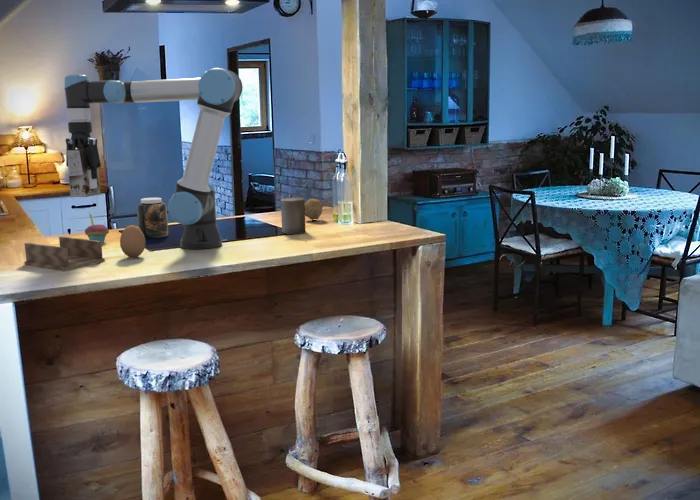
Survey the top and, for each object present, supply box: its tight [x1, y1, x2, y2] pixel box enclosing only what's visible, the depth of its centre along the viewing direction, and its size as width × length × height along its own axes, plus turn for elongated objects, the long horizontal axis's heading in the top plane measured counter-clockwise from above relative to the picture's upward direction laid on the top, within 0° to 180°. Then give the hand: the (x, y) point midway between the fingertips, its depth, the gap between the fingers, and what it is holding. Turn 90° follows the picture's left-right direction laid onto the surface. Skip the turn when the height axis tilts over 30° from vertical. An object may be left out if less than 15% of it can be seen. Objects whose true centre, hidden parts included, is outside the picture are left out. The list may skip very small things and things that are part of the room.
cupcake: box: [84, 212, 110, 244], centre depth 269 cm, size 9×8×12 cm
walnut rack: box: [23, 236, 105, 272], centre depth 234 cm, size 20×16×7 cm
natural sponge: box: [305, 198, 323, 220], centre depth 316 cm, size 9×9×10 cm
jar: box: [136, 197, 169, 239], centre depth 282 cm, size 12×12×15 cm
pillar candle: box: [280, 196, 306, 235], centre depth 286 cm, size 10×10×15 cm
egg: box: [119, 224, 146, 259], centre depth 241 cm, size 8×8×11 cm
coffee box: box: [67, 149, 101, 198], centre depth 245 cm, size 9×6×16 cm
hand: (85, 187), depth 246 cm, fingers closed on coffee box, 8 cm apart
